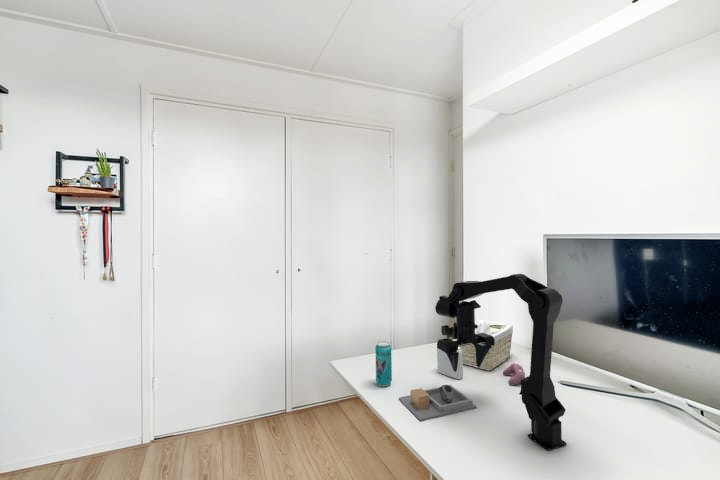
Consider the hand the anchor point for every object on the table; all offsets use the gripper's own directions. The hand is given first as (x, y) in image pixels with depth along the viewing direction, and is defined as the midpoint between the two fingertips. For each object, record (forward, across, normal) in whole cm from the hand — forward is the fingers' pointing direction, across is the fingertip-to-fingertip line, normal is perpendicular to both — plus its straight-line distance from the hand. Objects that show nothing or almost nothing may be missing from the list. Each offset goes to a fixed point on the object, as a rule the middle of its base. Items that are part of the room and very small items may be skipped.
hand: (466, 369), depth 107 cm
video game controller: (+11, -26, -7) cm, 29 cm away
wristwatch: (+10, +6, -3) cm, 12 cm away
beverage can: (+11, +19, -23) cm, 31 cm away
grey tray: (+11, +10, -3) cm, 15 cm away
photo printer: (+11, -8, -20) cm, 24 cm away
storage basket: (+11, -31, -26) cm, 42 cm away
